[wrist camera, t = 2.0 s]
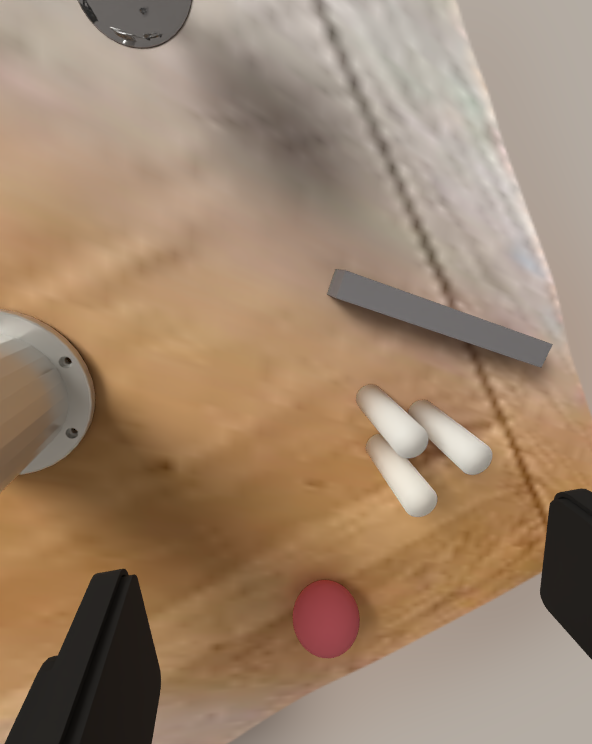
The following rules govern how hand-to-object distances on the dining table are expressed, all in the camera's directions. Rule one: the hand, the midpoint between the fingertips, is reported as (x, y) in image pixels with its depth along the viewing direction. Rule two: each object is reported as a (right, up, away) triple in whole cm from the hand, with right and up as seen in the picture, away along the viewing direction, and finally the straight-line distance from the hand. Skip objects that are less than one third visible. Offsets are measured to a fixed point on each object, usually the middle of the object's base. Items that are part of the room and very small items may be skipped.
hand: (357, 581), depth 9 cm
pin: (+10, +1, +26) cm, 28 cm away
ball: (+1, -17, +27) cm, 33 cm away
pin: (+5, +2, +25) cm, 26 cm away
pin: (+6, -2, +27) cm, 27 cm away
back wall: (+10, +9, +24) cm, 28 cm away
